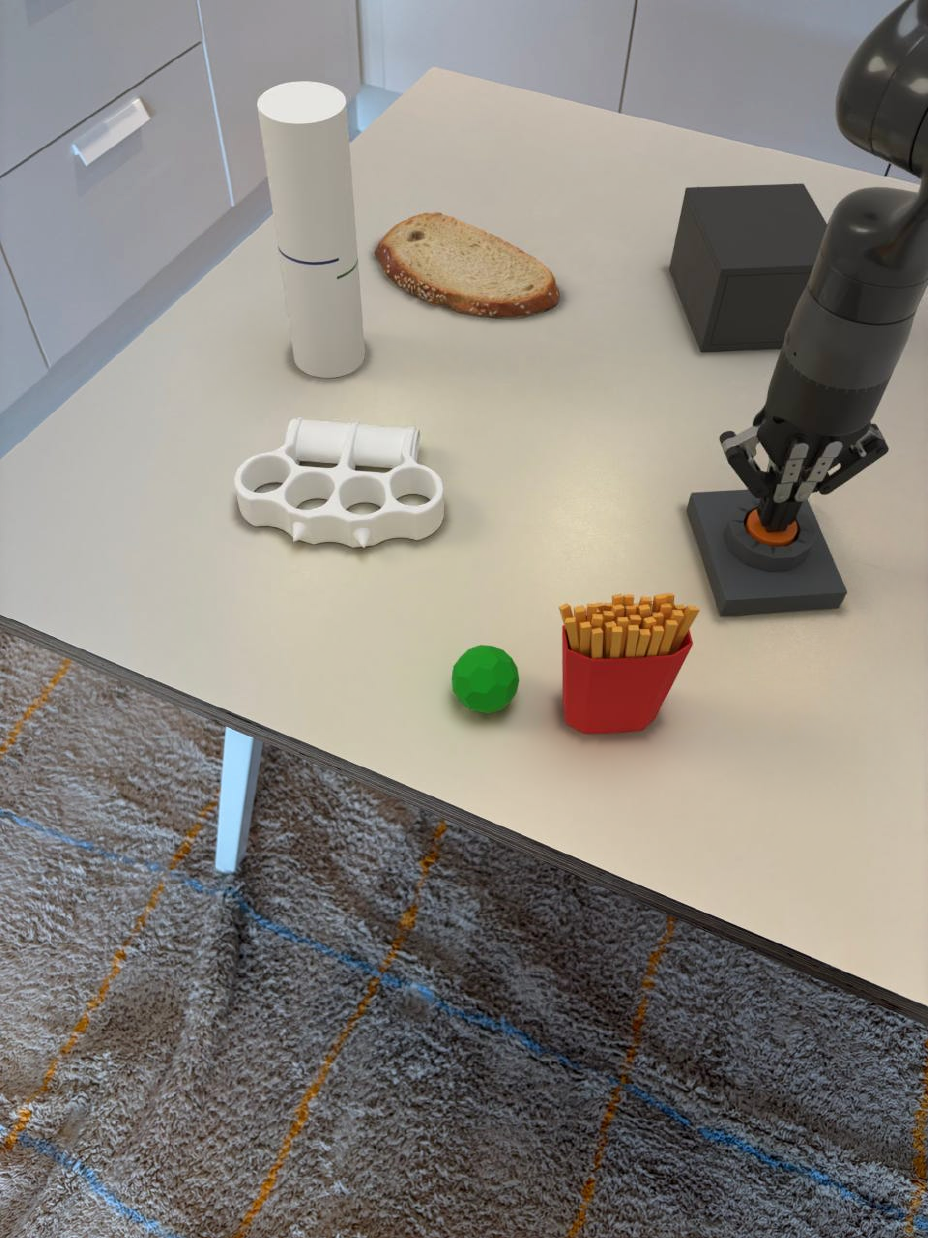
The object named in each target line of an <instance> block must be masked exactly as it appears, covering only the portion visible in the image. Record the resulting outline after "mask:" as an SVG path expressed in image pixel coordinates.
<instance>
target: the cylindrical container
mask: <svg viewBox="0 0 928 1238" xmlns="http://www.w3.org/2000/svg"><path fill="white" fill-rule="evenodd" d="M256 107H257V112H258V119H259V127H260V134H261V141H262V148H263V154H264V161H265V167H266V169H265V170H266V175H267V182H268V188H269V189H268V190H269V195H270V203H271V209H272V217H273V223H274V230H275V237H276V244H277V251H278V257H279V258H278V259H279V264H280V271H281V272H280V273H281V278H282V286H283V292H284V297H285V298H284V299H285V306H286V313H287V319H288V327H289V334H290V340H291V347H292V355H293V361H294V363H295V365H296V367H297V368H298V369H299V370H300V371H302V372H303V373H305V374H306V375H309V376H311V377H316V378H321V379H334V378H340V377H344V376H347V375H349V374H351V373H353V372H355V371H356V370H358V369H359V368H360V367H361V366H362V364H363V363H364V361H365V357H366V349H365V336H364V335H365V334H364V323H363V322H364V321H363V309H362V295H361V281H360V267H359V266H360V265H359V255H358V252H359V251H358V242H357V240H358V239H357V227H356V214H355V203H354V189H353V175H352V174H353V173H352V163H351V160H352V159H351V148H350V146H351V145H350V134H349V133H350V132H349V121H348V108H347V98H346V96H345V94H344V93H343V92H342V90H340V89H338V88H337V87H335V86H332V85H330V84H327V83H322V82H318V81H308V80H307V81H306V80H305V81H291V82H285V83H281V84H278V85H275V86H273V87H270V88H268V89H267V90H266V91H264V92H262V93H261V95H260V96H259V97H258V99H257V106H256Z"/></svg>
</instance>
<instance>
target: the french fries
mask: <svg viewBox="0 0 928 1238" xmlns="http://www.w3.org/2000/svg"><path fill="white" fill-rule="evenodd" d="M558 610H559V613H560V617H561V620H562V622H563V625H561V651H562V652H561V660H562V661H561V663H562V665H561V667H562V668H561V669H562V670H561V671H562V675H561V676H562V682H561V683H562V684H561V685H562V691H561V692H562V707H563V712H564V718H565V724H566V725H567V726H569V727H571V728H573V729H575V730H577V731H578V732H580V733H582V734H584V735H586V734H587V735H589V734H590V735H591V734H592V735H593V734H595V735H601V734H616V733H617V734H619V733H632V732H633V733H634V732H642V731H643V730H644V729H646V728H647V727H648V726H649V725H650V724H651V723H652V722H653V721H654V720H656V718H657V716H658V714H659V712H660V711H661V708H662V706H663V705H664V703H665V700H666V699H667V697H668V694H669V693H670V690H671V688H672V687H673V685H674V683H675V682H676V679H677V677H678V675H679V673H680V671H681V669H682V667H683V665H684V663H685V661H686V660H687V657H688V655H689V653H690V651H691V650H692V648H693V646H694V642H693V638H692V634H691V630H690V629H691V627H692V625H693V623H694V622H695V620H696V619H697V616H698V614H699V612H700V610H701V609H700V608H699V607H698V606H697V605H686V606H685V605H684V604H683V603H682V604H675V593H673V592H664V593H660V594H654V595H653V598H652V597H651V596H642V595H641V596H640V598H639V602H635V595H634V594H622V593H618V594H613V595H611V602H603V601H601V602H596V603H586V607H585V606H584V605H583V604H581V605H578V606H575V607H573V610H572V607H571V605H570V604H569V602H565V603H564V604H562V605H560V606H558Z"/></svg>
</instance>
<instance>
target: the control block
mask: <svg viewBox="0 0 928 1238" xmlns="http://www.w3.org/2000/svg"><path fill="white" fill-rule="evenodd" d="M760 499H761V498H755V497H754V496H753V495H752V493H751V492H750V491H749V489H748V488H747V489H734V490H733V489H731V490H716V491H715V490H714V491H698V492H691V493H690V496H689V500H688V502H687V506H686V513H687V517H688V520H689V522H690V526H691V529H692V533H693V535H694V538H695V541H696V544H697V547H698V551H699V553H700V556H701V560H702V563H703V566H704V569H705V572H706V575H707V578H708V581H709V585H710V587H711V590H712V594H713V598H714V600H715V603H716V605H717V610H718V613H719V616H720V617H732V616H733V617H734V616H748V615H765V614H775V613H776V614H777V613H792V612H807V611H822V610H837V609H840V607H841V605H842V604H843V602H844V600H845V598H846V596H847V594H848V590H847V586H846V585H845V583H844V580H843V578H842V575H841V573H840V571H839V569H838V566H837V563H836V561H835V560H834V557H833V555H832V553H831V550H830V548H829V545H828V543H827V541H826V538H825V535H824V534H823V531H822V528H821V527H820V523H819V522H818V520H817V518H816V515H815V513H814V510H813V508H812V506H811V503H810V500H809V498H808V499H807V500H805V501H803V503H802V505H801V508H800V510H799V512H798V515H797V517H796V520H795V521H796V524H797V533H796V535H795V537H794V540H793V542H792V544H790V545H788V546H780V547H772V546H769V545H766V544H763V543H760V542H757V541H756V540H755V539H754V538H753V537H752V536H750V535H749V534H748V533H747V531H746V528H745V526H746V523H747V520H748V517H749V515H750V514H751V513H752V512H753V511H754V510H756V509H757V507H758V504H759V502H760Z"/></svg>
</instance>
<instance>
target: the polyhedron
mask: <svg viewBox="0 0 928 1238" xmlns="http://www.w3.org/2000/svg"><path fill="white" fill-rule="evenodd" d="M519 685H520V673H519V667H518V666H517V664H516V662H515V661H514V659H513V657H511V656H510V654H508V653H507V652H506V651H505V650H504V649H502V648H499V647H497V646H493V645H484V644H479V645H476V646H473V647H471V648H467V650H466V651H465V652H464V653H463V654H461V655H460V657H458V659H457V661H456V662H455V664H454V665H453V666H452V673H451V687H452V692H453V693H454V695H455V696H456V698H457V699H458V701H459V702H460V703H461V704H462V705H463V706H464V707H465V708H466V709H468V710H472V711H474V712H478V713H485V714H493V713H494V712H497V711H500V710H503V709H504V708H505V707H506V706H508V705H509V704H510V703H511V702H512V700H513V699H514V697H515V696H516V694H517V693H518V690H519Z"/></svg>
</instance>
